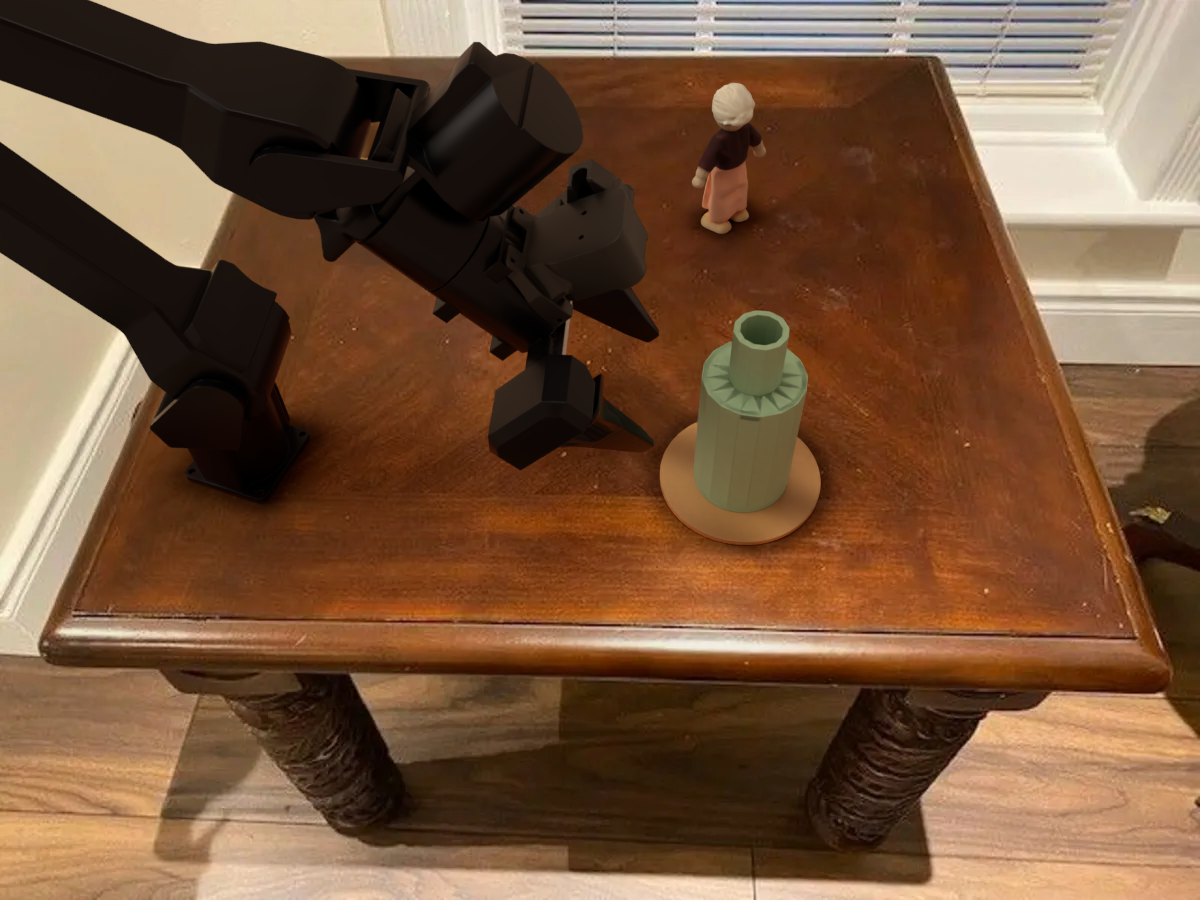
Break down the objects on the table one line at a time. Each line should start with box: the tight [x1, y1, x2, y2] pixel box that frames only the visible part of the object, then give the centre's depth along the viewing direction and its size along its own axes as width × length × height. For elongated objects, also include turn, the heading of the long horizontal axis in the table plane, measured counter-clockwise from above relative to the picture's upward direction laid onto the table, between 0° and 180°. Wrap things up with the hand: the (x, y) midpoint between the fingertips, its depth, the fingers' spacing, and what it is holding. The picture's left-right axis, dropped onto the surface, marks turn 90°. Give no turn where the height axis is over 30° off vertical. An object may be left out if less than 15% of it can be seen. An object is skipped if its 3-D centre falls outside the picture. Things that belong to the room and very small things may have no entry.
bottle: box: [693, 309, 809, 513], centre depth 65 cm, size 6×6×14 cm
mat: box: [659, 421, 822, 546], centre depth 71 cm, size 11×11×1 cm
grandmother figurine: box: [691, 82, 767, 235], centre depth 83 cm, size 8×4×13 cm, turn 141°
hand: (652, 390), depth 65 cm, fingers open, 9 cm apart
